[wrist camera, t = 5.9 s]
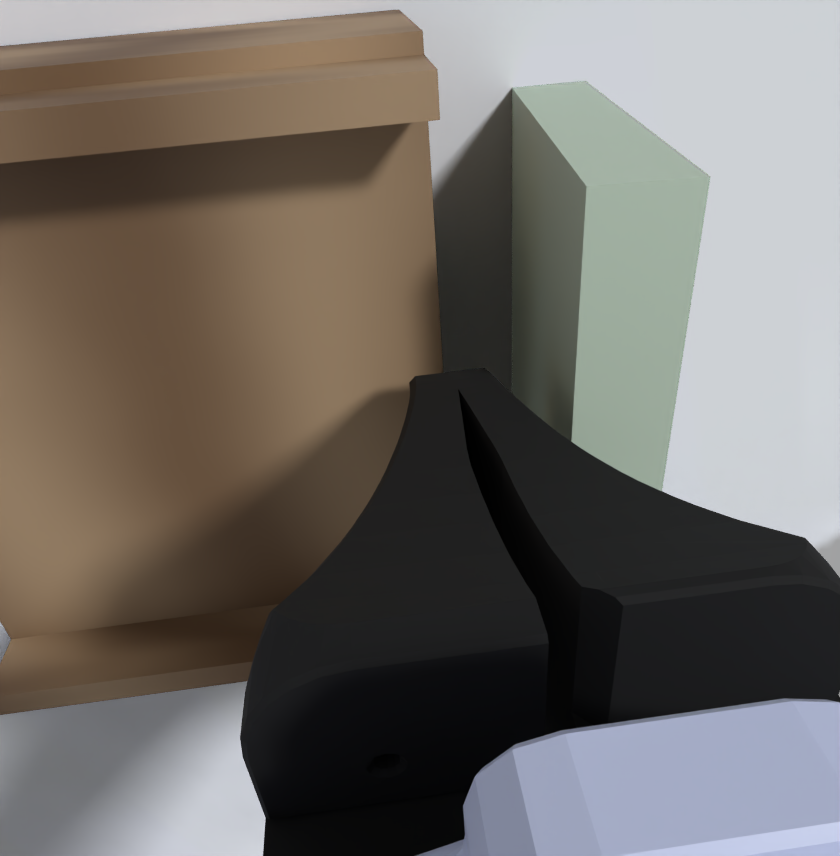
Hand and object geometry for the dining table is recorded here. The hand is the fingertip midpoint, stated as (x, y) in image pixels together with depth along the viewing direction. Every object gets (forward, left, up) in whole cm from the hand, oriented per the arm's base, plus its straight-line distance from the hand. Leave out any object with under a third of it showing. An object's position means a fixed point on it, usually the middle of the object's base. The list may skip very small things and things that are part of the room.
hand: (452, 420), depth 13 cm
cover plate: (+2, 0, -2) cm, 2 cm away
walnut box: (-5, 0, -5) cm, 7 cm away
